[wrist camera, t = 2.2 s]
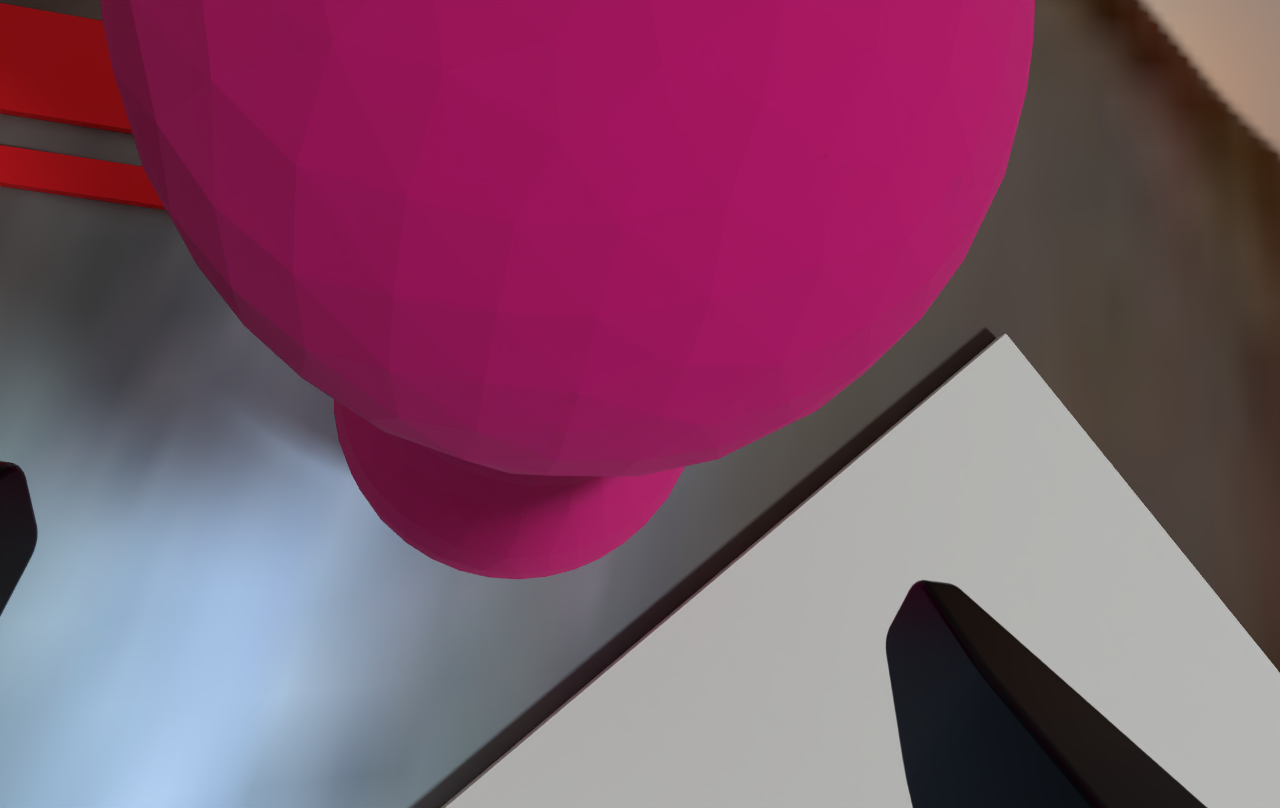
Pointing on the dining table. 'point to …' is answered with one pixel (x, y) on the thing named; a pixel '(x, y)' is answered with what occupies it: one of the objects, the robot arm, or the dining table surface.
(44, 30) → the maze puzzle
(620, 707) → the grey mat
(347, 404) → the pepper mill
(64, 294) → the dining table surface
